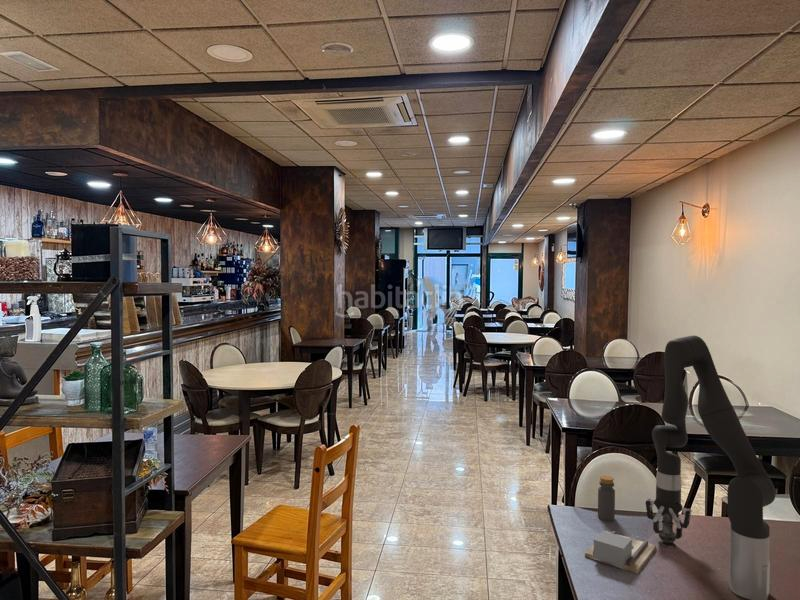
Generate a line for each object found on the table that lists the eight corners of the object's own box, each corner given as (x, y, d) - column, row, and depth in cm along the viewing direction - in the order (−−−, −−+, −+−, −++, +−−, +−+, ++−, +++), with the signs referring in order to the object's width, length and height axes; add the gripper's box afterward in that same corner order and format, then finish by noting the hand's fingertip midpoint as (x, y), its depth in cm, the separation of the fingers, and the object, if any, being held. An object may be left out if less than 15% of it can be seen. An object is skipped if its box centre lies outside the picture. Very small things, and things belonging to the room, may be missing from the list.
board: (655, 549, 179) (656, 542, 179) (637, 573, 164) (637, 566, 164) (606, 534, 190) (606, 528, 189) (584, 556, 174) (584, 549, 174)
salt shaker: (679, 549, 179) (680, 513, 179) (660, 547, 180) (660, 511, 180) (674, 541, 185) (675, 506, 185) (655, 539, 186) (656, 504, 186)
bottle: (600, 512, 208) (601, 473, 207) (616, 517, 204) (617, 477, 203) (595, 517, 203) (596, 477, 203) (611, 522, 199) (612, 481, 199)
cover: (631, 557, 171) (631, 539, 171) (623, 567, 165) (623, 548, 164) (602, 548, 176) (602, 530, 176) (593, 557, 170) (593, 539, 170)
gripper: (642, 483, 184) (641, 532, 184) (689, 494, 175) (688, 546, 175) (648, 477, 190) (647, 525, 190) (695, 487, 180) (694, 537, 181)
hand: (667, 535), depth 183 cm, fingers closed on salt shaker, 6 cm apart
